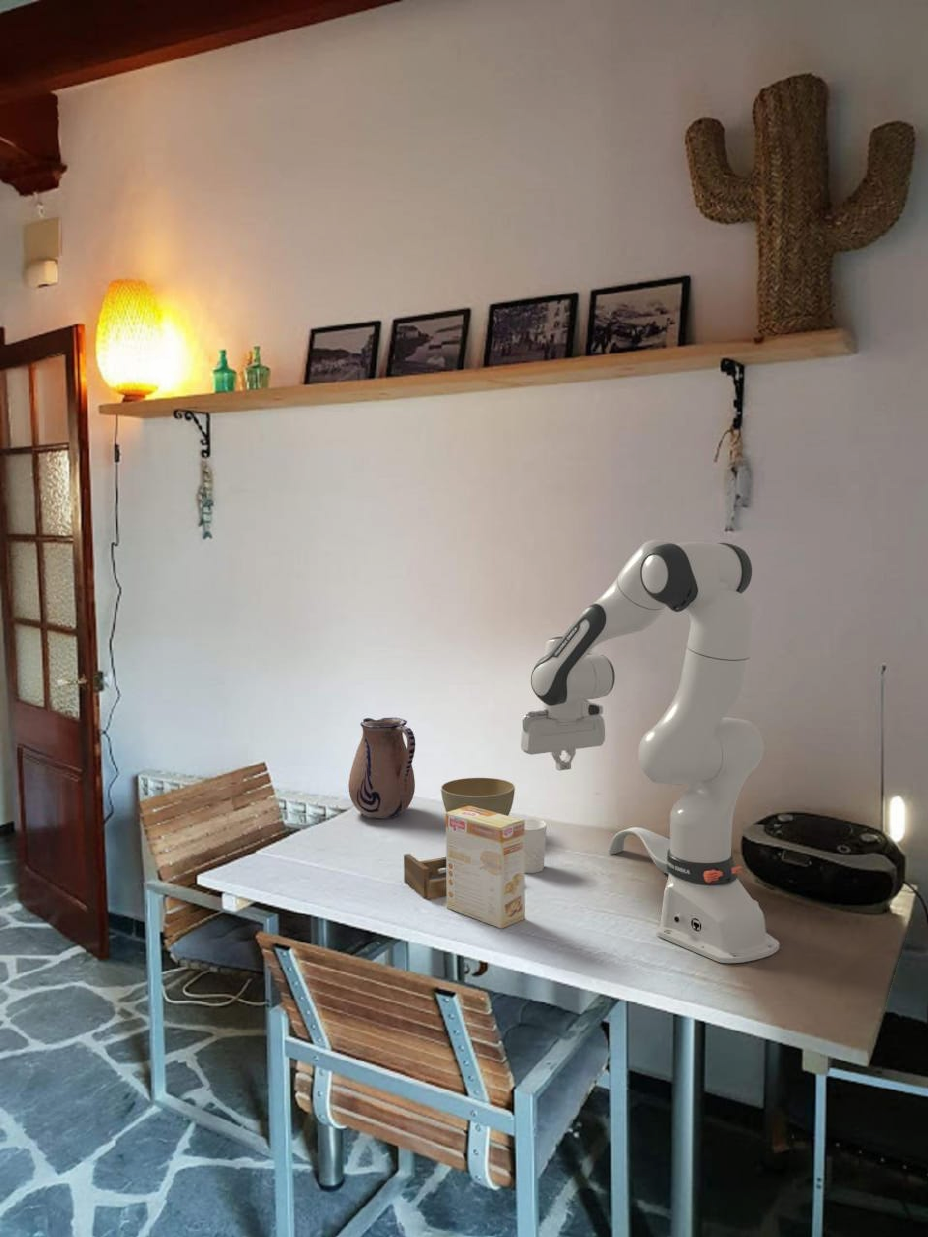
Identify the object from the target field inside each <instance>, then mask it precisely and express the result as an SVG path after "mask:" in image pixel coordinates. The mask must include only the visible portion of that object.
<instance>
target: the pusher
mask: <svg viewBox="0 0 928 1237" xmlns="http://www.w3.org/2000/svg"><path fill="white" fill-rule="evenodd" d="M438 873H439V874H441V873H446V868H441V869H438Z"/></svg>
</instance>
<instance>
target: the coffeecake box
mask: <svg viewBox="0 0 928 1237" xmlns="http://www.w3.org/2000/svg"><path fill="white" fill-rule="evenodd" d="M522 819H523V818H517V817H514V816H510V815H509V816H506V815H503V814H499V813H495V812H491V811H488V810H484V809H480V808H476V807H472V806H466V807H462V808H459V809H456V810H452V811H449V812H446V811H445V853H446V854H445V857H446V875H445V876H446V885H447V896H446V909H449V910H451V911H455V912H457V913H459V914H462V915H465V916H467V917H470V918H473V919H475V920H478V921H480V922H483V923H485V924H488V925H491V926H493V927H495V928H499V929H501V930H503V929H504V928H506V927H508V926H511V925H514V924H516V923H518V922H520V921H523V920H526V916H525V915H526V913H525V912H526V909H525V908H526V906H525V904H526V899H525V894H526V892H525V891H526V890H525V889H526V887H525V881H526V880H525V877H526V876H525V874H526V873H525V849H524V821H525V820H522Z"/></svg>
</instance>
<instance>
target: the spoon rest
mask: <svg viewBox="0 0 928 1237" xmlns="http://www.w3.org/2000/svg"><path fill="white" fill-rule="evenodd" d="M629 835H634V836H636V837H637V838H639V839H640V841H641V842H642V844H643V845H644V846H645V849H646V851H647V853H648V855H649V856H650V859H651V860H652V861H653V863H654V864H655V866H656V867H657V868H658V869H659V870H660V871H662V872H663V873H664V874H665V873H666V874H665V875H668V876H669V872H668V871H667V861H666V860H667V852H668V850H669V849H670V838H667V837H665V836H663V835H661V834H658V833H656V832H653V831H652V830H648V829H646V828H644V827H637V826H635V827H631V828H630V827H629V828H627V829H624V830H620V831H618V832H617V833H616V834H615V835H614V836H613V837H612V838H611V841H610V844H609V849H608V854H609V855H616V854H619V853H621V852H623V851H624V849H625V848H624V847H625V846H624V845H625V839H626V837H627V836H629Z"/></svg>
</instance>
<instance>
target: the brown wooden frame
mask: <svg viewBox="0 0 928 1237" xmlns="http://www.w3.org/2000/svg"><path fill="white" fill-rule="evenodd" d="M403 861H404V863H403V866H404V867H403V872H404V874H403V875H404V877H403V878H404V884H406V885H407V884H408V885H409V886H408V885H407V886H408V887H409V888H411V889H412V890H413V889H414V890H415V891H414V890H413V891H414V892H415V893H417V894H418V896H420V895H421V897H422V898H423V899H427V900H428V901H429V900H434V899H439V898H440V899H441V898H444V897H445V898H447V885H446V877H441V876H444V875H445V876H446V873H441V874H439V873H438V869H441V868H446V856H444V857H443V856H442V857H437V858H432V859H427V860H420V861H419V860H418V859H417V858H415V857H414V856H413V855H412V854H410V853H407V854H403ZM436 877H441V878H436ZM430 878H436V879H430Z"/></svg>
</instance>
